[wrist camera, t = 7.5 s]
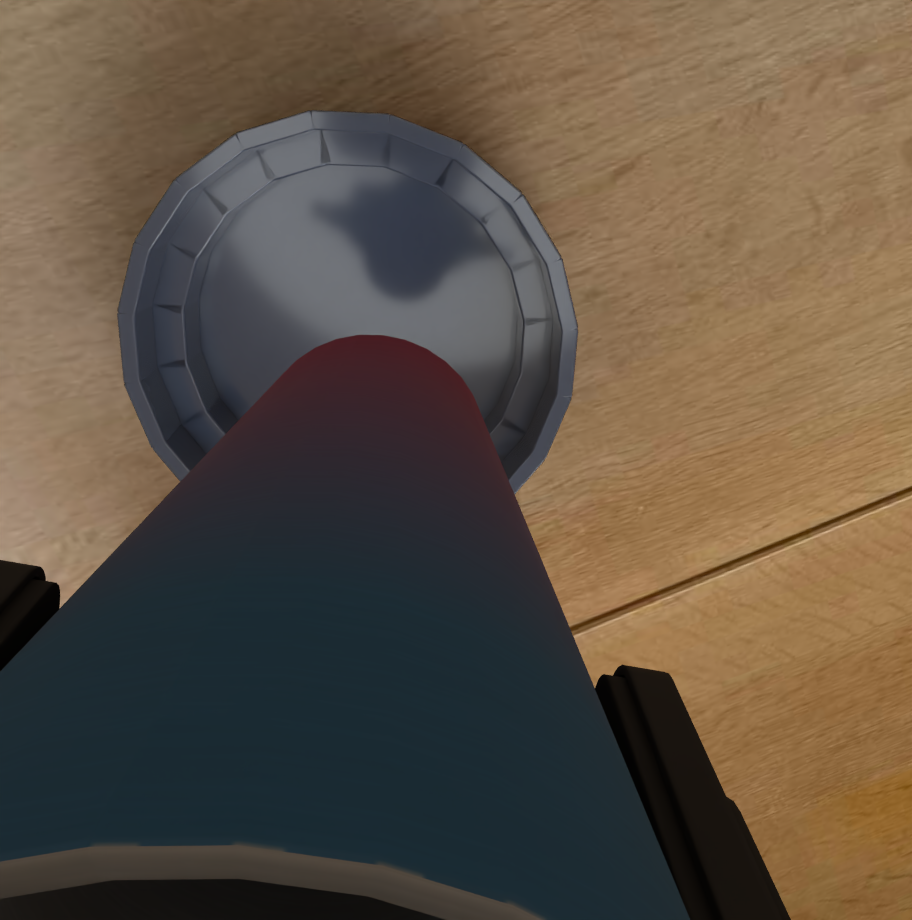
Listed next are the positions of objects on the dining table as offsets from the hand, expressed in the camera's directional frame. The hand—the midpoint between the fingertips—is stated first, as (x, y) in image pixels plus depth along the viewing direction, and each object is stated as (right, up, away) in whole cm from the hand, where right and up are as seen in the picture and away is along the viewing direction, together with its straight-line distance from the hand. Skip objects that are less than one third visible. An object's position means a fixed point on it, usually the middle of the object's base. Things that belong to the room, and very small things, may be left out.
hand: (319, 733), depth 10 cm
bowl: (-2, +9, +25) cm, 27 cm away
